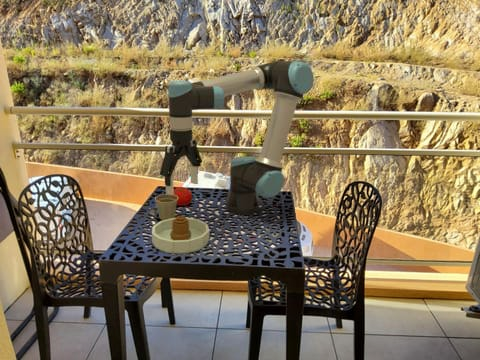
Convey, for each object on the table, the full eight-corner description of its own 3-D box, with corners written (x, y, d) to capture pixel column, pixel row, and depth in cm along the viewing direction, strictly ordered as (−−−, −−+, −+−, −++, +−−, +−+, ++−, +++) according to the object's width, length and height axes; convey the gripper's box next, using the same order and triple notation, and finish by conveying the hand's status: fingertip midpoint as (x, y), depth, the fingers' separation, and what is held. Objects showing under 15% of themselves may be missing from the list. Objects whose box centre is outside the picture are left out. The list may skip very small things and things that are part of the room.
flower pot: (173, 223, 153) (173, 203, 151) (151, 220, 155) (150, 200, 152) (181, 214, 162) (181, 195, 159) (160, 212, 164) (160, 193, 161)
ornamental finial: (189, 242, 136) (168, 242, 136) (192, 233, 143) (172, 232, 143) (189, 221, 133) (168, 221, 133) (192, 213, 141) (171, 212, 140)
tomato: (175, 209, 168) (175, 195, 166) (165, 201, 176) (165, 187, 174) (195, 205, 173) (195, 191, 171) (185, 197, 181) (185, 184, 179)
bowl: (205, 227, 151) (206, 216, 149) (211, 251, 132) (211, 240, 131) (153, 229, 147) (153, 218, 146) (151, 255, 129) (150, 242, 127)
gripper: (194, 122, 141) (195, 177, 147) (146, 133, 120) (149, 197, 127) (211, 124, 137) (211, 181, 144) (164, 136, 117) (167, 201, 123)
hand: (182, 188), depth 135 cm, fingers open, 13 cm apart
